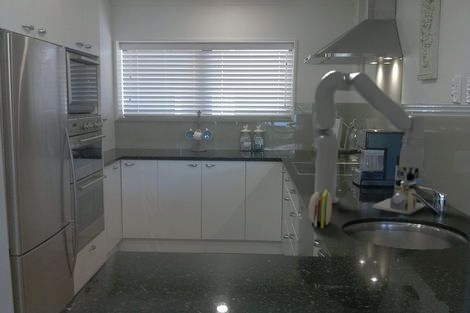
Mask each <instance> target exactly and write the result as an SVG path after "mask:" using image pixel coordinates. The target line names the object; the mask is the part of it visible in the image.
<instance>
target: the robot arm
mask: <svg viewBox="0 0 470 313" xmlns="http://www.w3.org/2000/svg"><path fill="white" fill-rule="evenodd" d="M339 91H340V92H341V91H342V92H355V93H356V94H358V96H359V97H360V98H361V99H363V101H364V102H365V103H366V104H367V106H369V107H370V108H371V109H373V110H374V111H376V112H377V113H380V114H382V116H384V117H385V119H387V121H386V122H387V123H386V124H387V127H388V128H389V129H390V130H392V131H395V132H399V133H401V132H402V133H405V135H404V139H403V138H402V139H401V142H400V143H403V144H402V145H401V148H400V149H401V150H400V154H399V155H400V160H399V168H401V169H404V170H405V171H406V173H407V180H408V181H411V180H413V179H415V175H416V173H418V172H421V171H424V170H425V168H424V166H425V147H424V146H423V140H424V128H425V117H424V116H423V115H409V114H407V112H406V111H405V110H404V109H403V108H402V107H401V106H400V105H399V104H398V103H397V102H395V100H393V99H392V98H391V97H390V96H388V95H387V94H385V92H384V91H383V90H382V89H381V87H379V86H378V85H377V84H376V83H375V82H374V80H372V78H371V77H370V76H369V75H368V74H367V73H365V72H363V71H357V72H353V73H352V72H348V73H347V72H342V71H341V70H336V69H335V70H331V71H328V72H327V73H325V74H324V76H323V77H322V78H321V80H320V81H319V83H318V84H317V86H316V89H315V92H314V108H315V109H314V111H315V112H314V113H313V115H312V120H311V122H312V123H311V126H312V136H313V137H312V138H313V144H314V147H315V149H316V158H315V175H314V193H316V192H318V193H320V196H319V198H320V200H321V194H322V192H325V190H328V192H329V193H330V195H331V199H332V204H337V203H338V202H339V198H338V197H336V188H337V186H336V185H337V168H338V166H337V165H338V155H339V147H340V145H339V144H340V143H339V140H338V138H337V137H336V136H335V134H334V132H333V130H334V129H333V128H334V126H335V125H336V112H335V94H336V92H339ZM327 194H328V193H327ZM312 196H313V194H312V195H310V199H311V198H312Z"/></svg>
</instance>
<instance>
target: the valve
mask: <svg viewBox="0 0 470 313" xmlns="http://www.w3.org/2000/svg"><path fill="white" fill-rule="evenodd" d="M394 190H395V193H393V194H392V197H391V198H386V199H384V200H383V201H382V200H381V201H379V202H377V203H375V204H373V205H372V209H377V210H381V211H386V212H387V211H388V212H392V213H398V214H404V215H412V214H414V213H415V212H417V211H419V210H420V209H423V208H424V207H425V204H424V203H421V202H417V198H418V197H417V198H416V197H414V196H413V195H412V194H411V193H410V192H413V193H416V194H417V191H416V190H415V188H407V186H403V188H402V187H400V188H398V189H395V188H394ZM423 204H424V205H423Z"/></svg>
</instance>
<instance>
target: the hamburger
mask: <svg viewBox="0 0 470 313" xmlns="http://www.w3.org/2000/svg"><path fill="white" fill-rule="evenodd" d="M327 193H328V194H327ZM312 195H313V196H312ZM312 195H311V196H312V198H311V197H310V201H309V203H308V217H309V220H310V221H311V222H312V223H313V224H314V228H317V226H318V223H319V225H320V229H324V226H327V225H328V224H329V223H330V220H331V216H332V211H333V210H332V208H333V203H332V199H331V195H330V193H329V192H328V190H325V192H322V194H321V200H320V198H319V196H320V193H318V192H316V193H314V194H312Z"/></svg>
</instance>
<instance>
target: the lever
mask: <svg viewBox="0 0 470 313" xmlns="http://www.w3.org/2000/svg"><path fill="white" fill-rule="evenodd" d="M423 181H424V179H423V178H414V179H413V180H411V181H401V186H409V187H410V186H412V185H415V184H416V185H419V184H422V183H423Z"/></svg>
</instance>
